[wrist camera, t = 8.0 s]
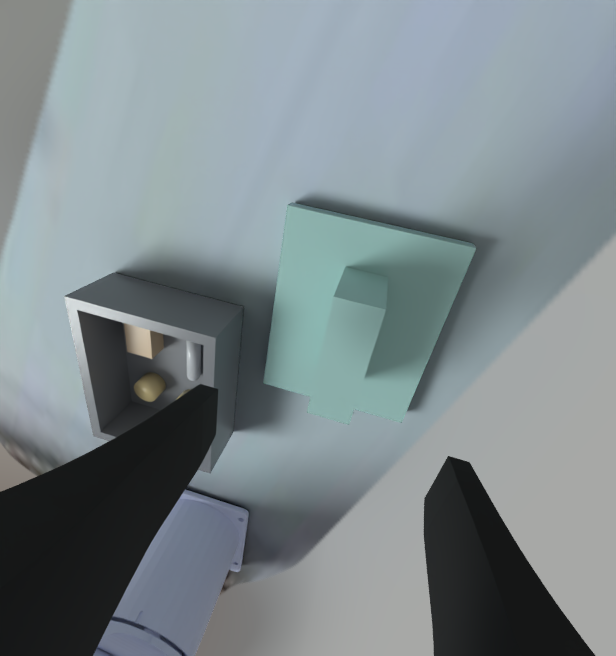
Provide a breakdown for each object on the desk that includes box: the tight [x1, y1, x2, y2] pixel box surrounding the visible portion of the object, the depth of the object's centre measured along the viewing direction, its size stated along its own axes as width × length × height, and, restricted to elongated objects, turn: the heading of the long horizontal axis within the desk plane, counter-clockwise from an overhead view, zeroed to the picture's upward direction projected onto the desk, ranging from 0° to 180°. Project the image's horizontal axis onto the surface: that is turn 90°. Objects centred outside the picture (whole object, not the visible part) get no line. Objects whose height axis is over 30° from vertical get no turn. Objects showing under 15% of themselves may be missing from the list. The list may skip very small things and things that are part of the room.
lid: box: [263, 203, 476, 425], centre depth 16 cm, size 10×8×5 cm
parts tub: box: [64, 273, 244, 473], centre depth 21 cm, size 10×8×4 cm
